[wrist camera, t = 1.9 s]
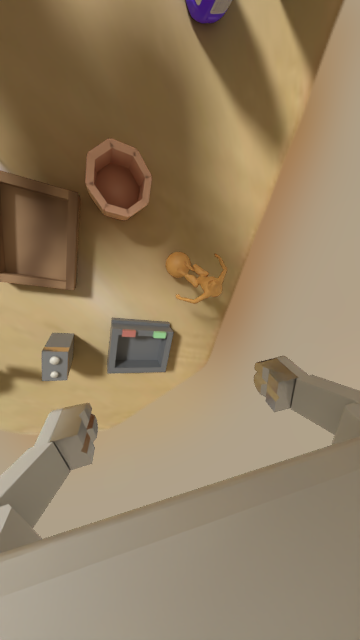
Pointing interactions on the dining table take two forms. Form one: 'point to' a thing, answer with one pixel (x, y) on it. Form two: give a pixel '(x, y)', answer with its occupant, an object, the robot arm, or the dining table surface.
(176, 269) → the figurine
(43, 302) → the dining table surface
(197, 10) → the bottle
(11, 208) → the brown wooden tray
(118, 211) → the pink octagonal pot
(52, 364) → the battery
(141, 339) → the tray
